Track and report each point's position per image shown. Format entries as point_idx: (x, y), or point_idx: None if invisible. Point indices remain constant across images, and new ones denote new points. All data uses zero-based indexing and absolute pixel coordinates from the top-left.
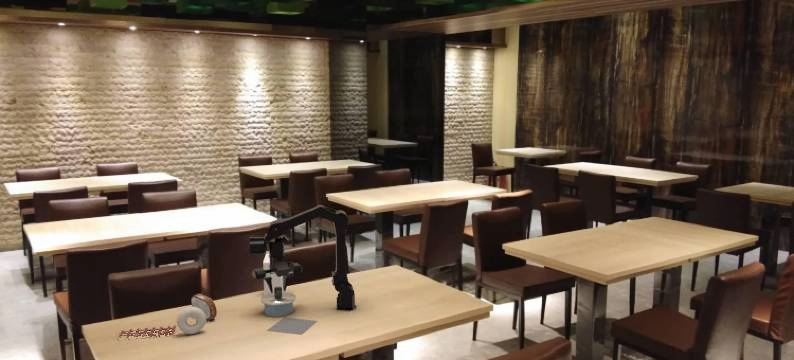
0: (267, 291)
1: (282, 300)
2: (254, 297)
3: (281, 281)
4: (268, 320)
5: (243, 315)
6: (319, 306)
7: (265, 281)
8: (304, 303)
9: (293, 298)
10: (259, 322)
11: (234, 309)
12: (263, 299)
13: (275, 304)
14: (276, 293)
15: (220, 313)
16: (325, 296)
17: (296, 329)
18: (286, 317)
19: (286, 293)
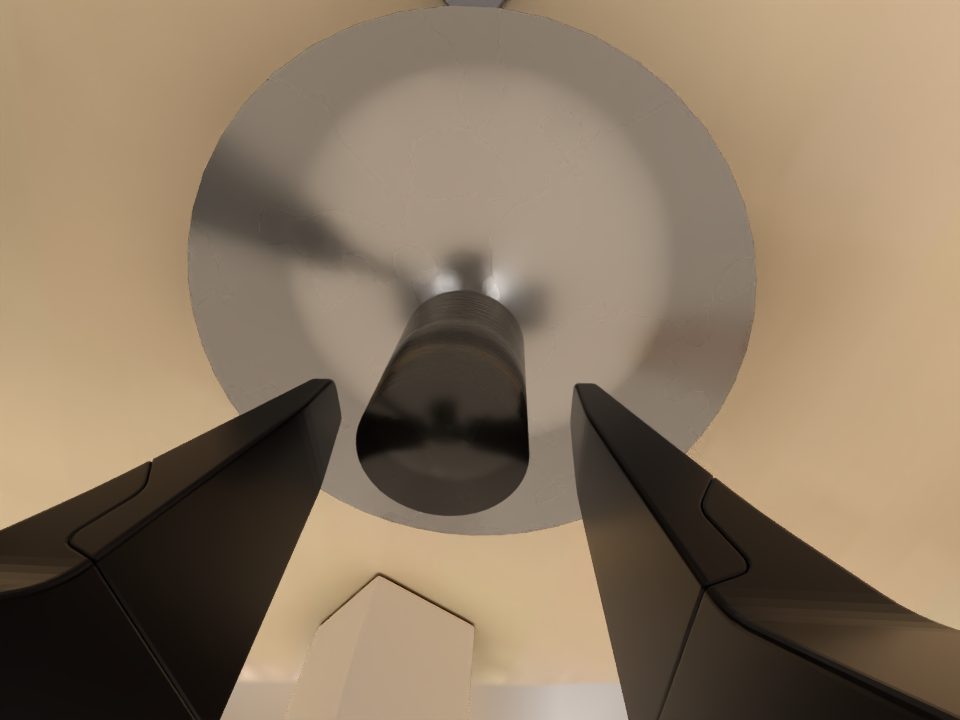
0: (451, 655)
1: (441, 160)
2: (540, 637)
3: (316, 717)
4: (676, 73)
5: (808, 368)
6: (44, 247)
7: None
8: (199, 390)
9: (230, 173)
10: (805, 54)
11: (780, 521)
12: (699, 368)
13: (615, 51)
14: (502, 349)
15: (929, 497)
16: (18, 453)
17: None
18: (452, 4)
19: None
